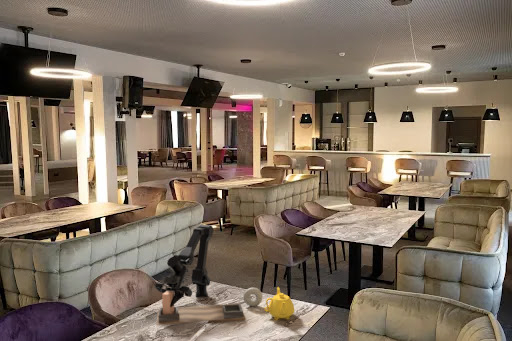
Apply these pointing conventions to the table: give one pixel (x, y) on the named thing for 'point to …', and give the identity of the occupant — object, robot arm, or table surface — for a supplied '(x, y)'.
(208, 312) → the puzzle board
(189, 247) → the robot arm
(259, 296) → the donut
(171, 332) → the table surface
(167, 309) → the block
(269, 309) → the teapot
